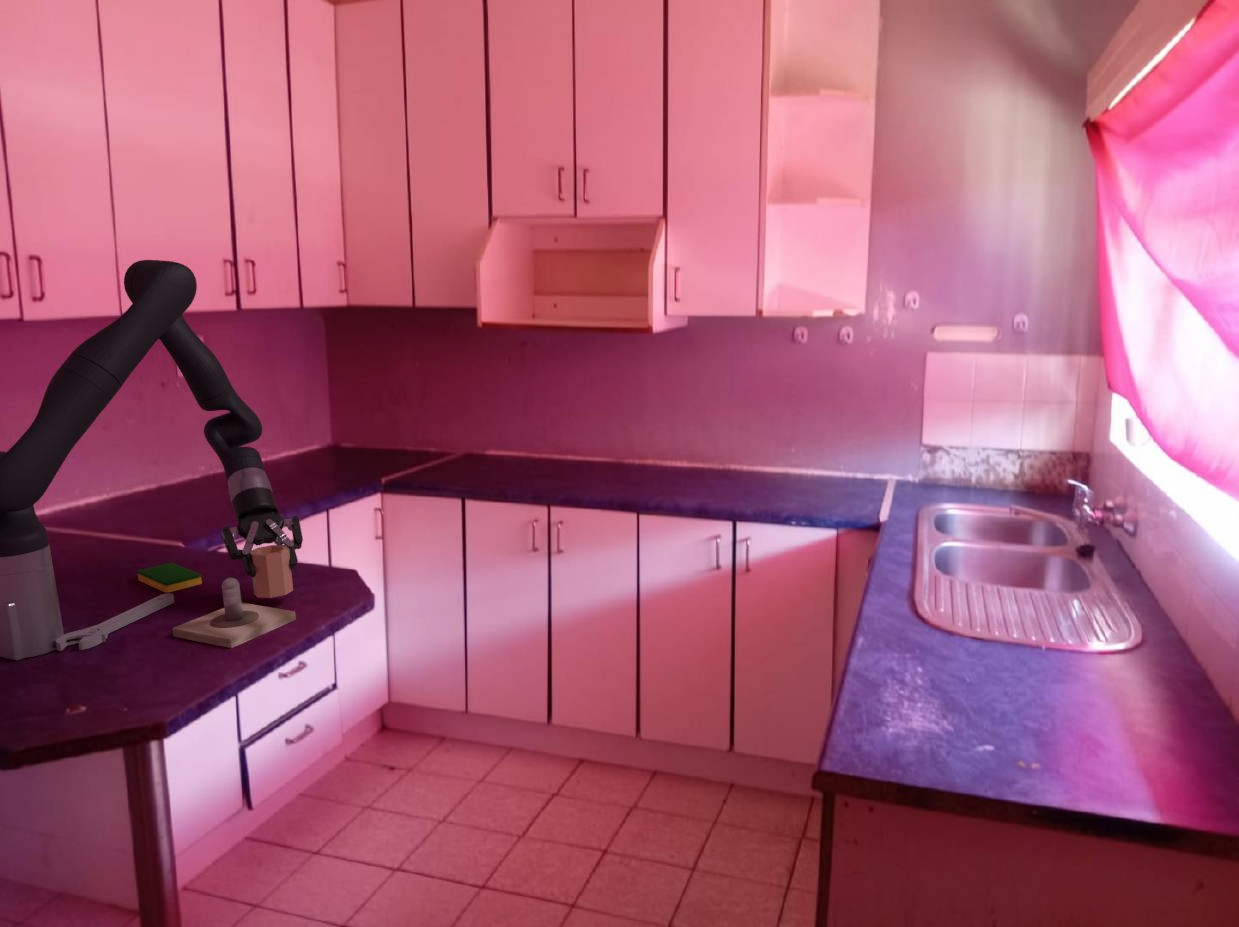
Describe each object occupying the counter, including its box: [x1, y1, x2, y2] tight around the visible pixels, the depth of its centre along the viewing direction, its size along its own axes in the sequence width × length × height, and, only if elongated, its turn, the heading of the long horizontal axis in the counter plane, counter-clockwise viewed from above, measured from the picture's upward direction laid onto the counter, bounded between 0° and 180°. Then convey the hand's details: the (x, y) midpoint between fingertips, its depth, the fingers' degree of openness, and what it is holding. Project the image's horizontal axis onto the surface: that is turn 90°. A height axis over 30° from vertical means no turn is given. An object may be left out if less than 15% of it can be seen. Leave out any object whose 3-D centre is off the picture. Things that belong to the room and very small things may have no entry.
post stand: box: [172, 577, 297, 649], centre depth 165 cm, size 14×14×9 cm
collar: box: [250, 544, 294, 599], centre depth 176 cm, size 6×6×8 cm
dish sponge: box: [136, 562, 203, 594], centre depth 194 cm, size 7×14×2 cm, turn 47°
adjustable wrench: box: [56, 593, 175, 652], centre depth 169 cm, size 25×6×2 cm, turn 161°
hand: (273, 571), depth 175 cm, fingers closed on collar, 6 cm apart
